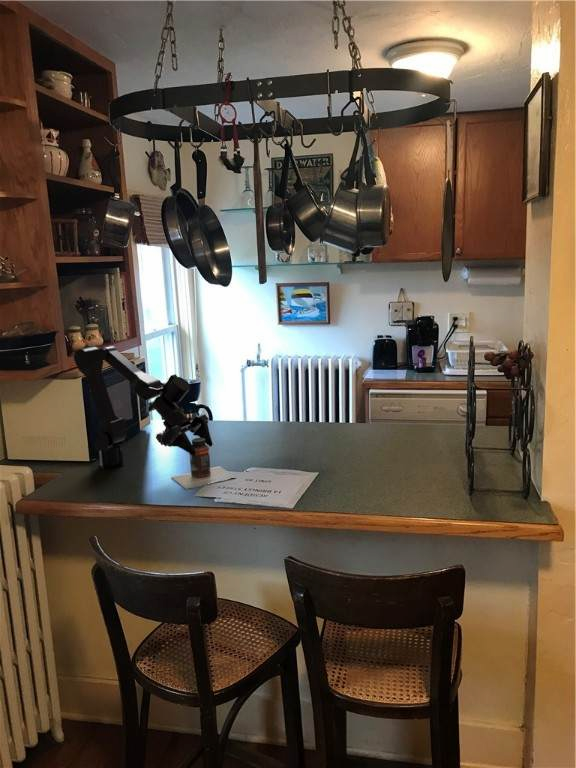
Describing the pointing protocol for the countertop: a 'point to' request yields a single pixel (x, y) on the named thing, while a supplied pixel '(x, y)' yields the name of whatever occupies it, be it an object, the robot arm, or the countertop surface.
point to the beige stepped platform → (192, 482)
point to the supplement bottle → (200, 459)
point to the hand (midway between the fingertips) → (203, 450)
